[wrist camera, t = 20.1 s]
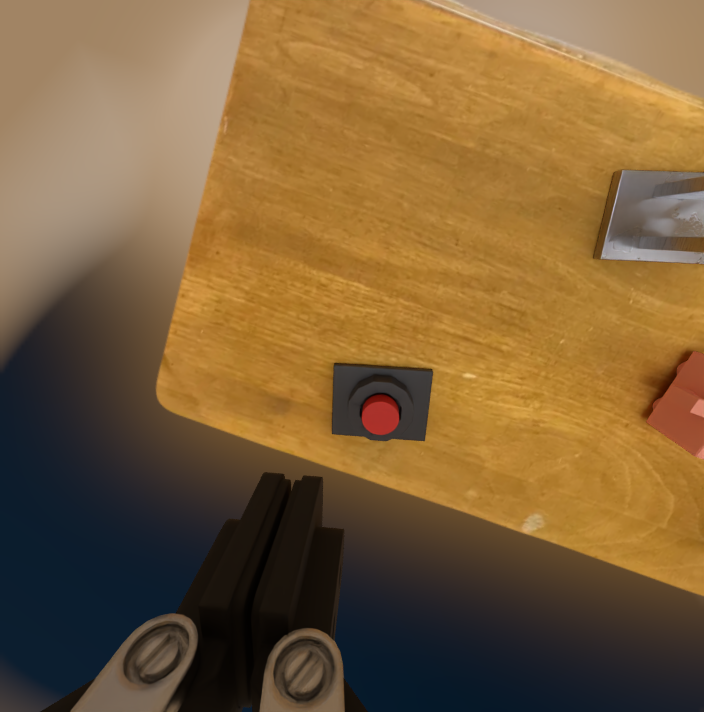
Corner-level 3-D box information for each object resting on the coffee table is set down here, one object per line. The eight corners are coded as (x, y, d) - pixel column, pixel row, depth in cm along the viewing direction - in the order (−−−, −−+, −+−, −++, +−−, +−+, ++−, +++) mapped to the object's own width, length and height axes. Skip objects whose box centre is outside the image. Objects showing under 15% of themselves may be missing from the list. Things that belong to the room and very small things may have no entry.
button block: (332, 431, 40) (329, 443, 38) (334, 362, 38) (331, 371, 35) (424, 438, 40) (426, 450, 37) (432, 369, 37) (435, 378, 35)
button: (361, 424, 38) (360, 433, 36) (363, 392, 36) (362, 400, 35) (396, 427, 37) (397, 436, 36) (399, 395, 36) (400, 403, 35)
